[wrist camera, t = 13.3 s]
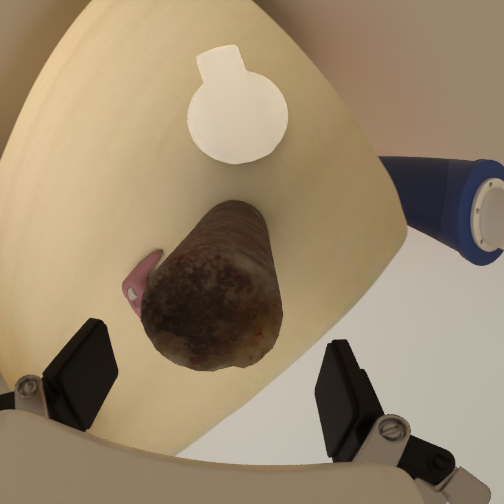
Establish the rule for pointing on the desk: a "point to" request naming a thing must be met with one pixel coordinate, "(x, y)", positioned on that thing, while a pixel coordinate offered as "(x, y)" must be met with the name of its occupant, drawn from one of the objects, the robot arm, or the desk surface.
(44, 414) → the robot arm
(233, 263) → the rusty brown cylinder
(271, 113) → the base with upright slab
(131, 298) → the video game controller
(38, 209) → the desk surface
